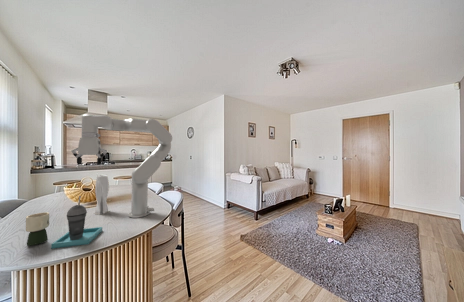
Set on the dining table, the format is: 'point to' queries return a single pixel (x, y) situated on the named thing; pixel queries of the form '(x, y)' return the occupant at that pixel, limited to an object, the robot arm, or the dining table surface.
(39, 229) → the character mug
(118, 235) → the dining table surface
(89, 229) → the tray
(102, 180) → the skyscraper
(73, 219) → the beverage cup
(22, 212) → the dining table surface
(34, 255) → the dining table surface
